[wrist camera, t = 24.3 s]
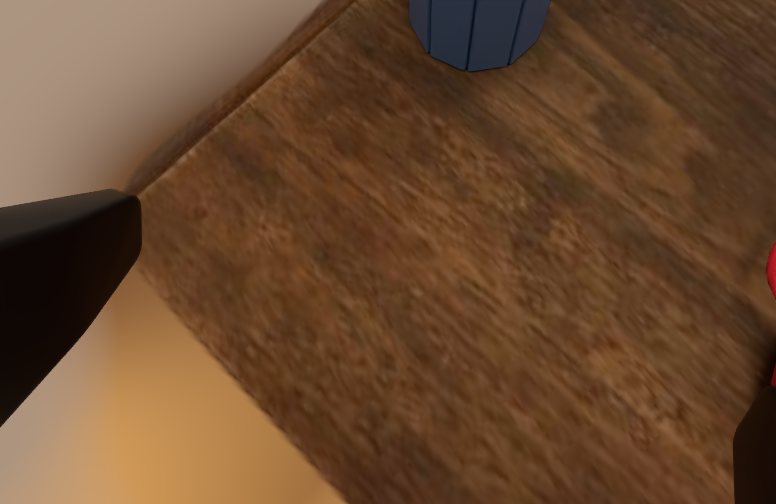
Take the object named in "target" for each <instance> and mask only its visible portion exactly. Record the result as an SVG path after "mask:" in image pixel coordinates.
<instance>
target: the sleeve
mask: <svg viewBox="0 0 776 504" xmlns="http://www.w3.org/2000/svg"><path fill="white" fill-rule="evenodd" d="M550 1H551V0H409V18H410V24H411V26H412V28H413V29H414V31H415V33H416V35H417V37H418V38H419V40H420V42H421V44H422V45H423V47H424V49H425V51H426V52H427V53H428V52H430V55H431V56H432V57H435V58H437V59H439V60H441V61H443V62H446V63H448V64H450V65H452V66H454V67H457V68H459V69H461V70H465V69H466V67H468V71H477V70H484V69H491V68H498V67H505V66H507V62H508V63H509V64H512V63H513V62H514V61H515V60H516V59H518V58H519V57H520V56H521V55H522V54H523V53H524V52H525V51H526V50H528V49H529V48H530V47H531V46H532V45H533V44H534V43H535V42H536V41H537V40H538V37H539V36H540V34H541V30H542V27H543V24H544V21H545V17H546V14H547V11H548V8H549V4H550Z"/></svg>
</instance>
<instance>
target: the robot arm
mask: <svg viewBox="0 0 776 504" xmlns="http://www.w3.org/2000/svg"><path fill="white" fill-rule="evenodd" d="M141 247H142V222H141V203H140V201H139V199H138V198H137V197H136V196H135V195H132V194H129V193H125V192H122V191H118V190H115V189H106V190H100V191H94V192H89V193H83V194H77V195H71V196H66V197H60V198H54V199H48V200H42V201H37V202H31V203H25V204H19V205H14V206H8V207H2V208H0V427H1V426H2V425H3V424H4V423H5V421H6V420H7V419H8V418H9V417H10V416H11V415H12V414H13V413H14V412H15V410H16V409H17V408H18V407H19V406H20V405H21V404H22V403H23V401H24V400H25V399H26V398H27V397H28V396H29V395H30V394H31V393H32V391H33V390H34V389H35V388H36V387H37V386H38V385H39V384H40V383H41V381H42V380H43V379H44V378H45V377H46V376H47V375H48V374H49V372H50V371H51V370H52V369H53V368H54V367H55V366H56V365H57V364H58V362H59V361H60V360H61V359H62V358H63V357H64V356H65V355H66V354H67V352H68V351H69V350H70V349H71V348H72V347H73V346H74V344H75V343H76V342H77V341H78V340H79V338H80V337H81V336H82V335H83V334H84V333H85V331H86V330H87V329H88V327H89V326H90V325H91V323H92V322H93V321H94V319H95V318H96V317H97V315H98V314H99V312H100V311H101V309H102V308H103V307H104V305H105V304H106V303H107V301H108V300H109V298H110V297H111V295H112V294H113V293H114V291H115V290H116V289H117V287H118V286H119V284H120V283H121V281H122V280H123V279H124V277H125V276H126V274H127V273H128V272H129V270H130V269H131V267H132V266H133V265H134V263H135V262H136V260H137V259H138V257H139V254H140V251H141ZM733 467H734V499H735V504H776V386H774V385H771V386H767V387H765V388H764V389H763V390H762V391H761V392H760V393H759V395H758V396H757V398H756V399H755V401H754V403H753V404H752V406H751V407H750V409H749V410H748V412H747V413H746V415H745V416H744V418H743V419H742V421H741V422H740V424H739V425H738V427H737V429H736V432H735V435H734V439H733Z"/></svg>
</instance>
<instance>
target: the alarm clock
mask: <svg viewBox="0 0 776 504" xmlns="http://www.w3.org/2000/svg"><path fill="white" fill-rule="evenodd" d="M766 271H767V279H768V284H769V286H770V288H771V290H772V292H773V295H774V297H775V299H776V242H775V243H774V245H773V247H772V248H771V250H770V253H769V257H768V262H767V266H766ZM771 385H774V386H776V364H775V368H774V372H773V376H772V380H771Z"/></svg>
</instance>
